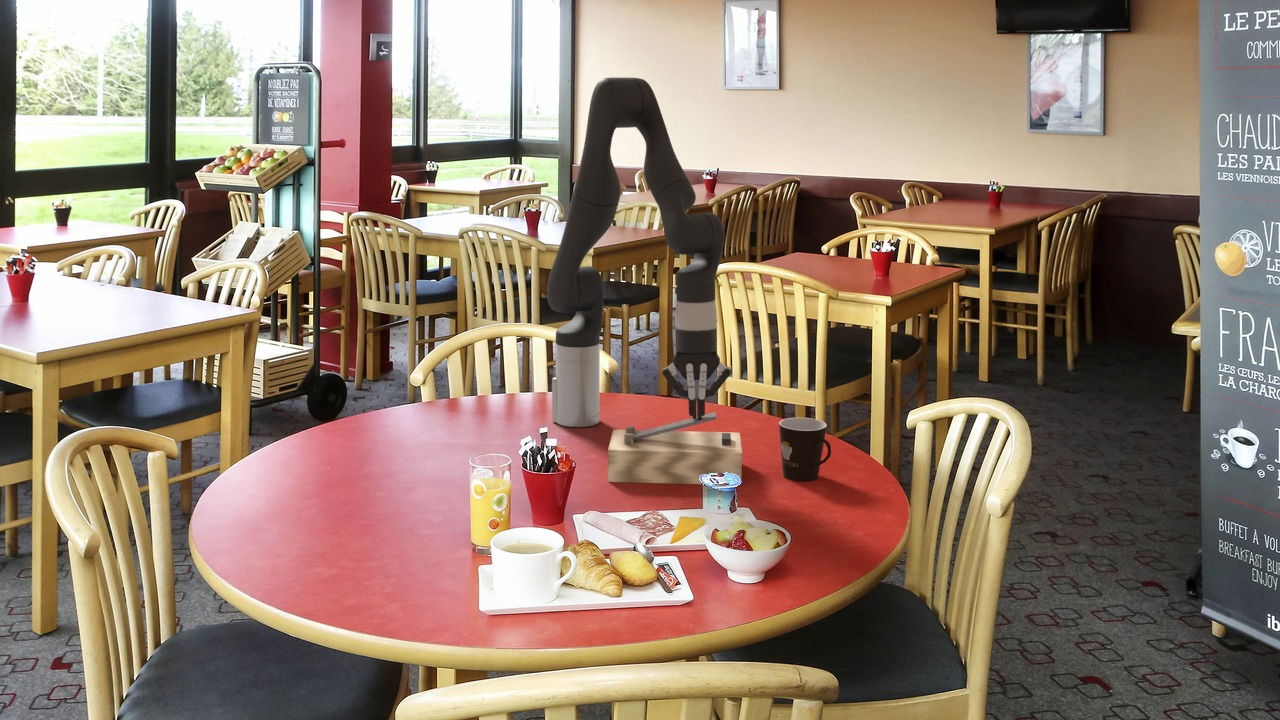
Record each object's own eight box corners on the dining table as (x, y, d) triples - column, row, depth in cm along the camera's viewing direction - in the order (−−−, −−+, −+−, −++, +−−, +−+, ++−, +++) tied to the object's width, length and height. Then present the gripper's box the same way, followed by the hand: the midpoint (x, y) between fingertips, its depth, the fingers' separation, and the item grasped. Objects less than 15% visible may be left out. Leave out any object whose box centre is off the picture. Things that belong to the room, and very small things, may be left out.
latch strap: (632, 441, 212) (631, 438, 211) (633, 436, 214) (632, 433, 214) (716, 419, 210) (715, 416, 210) (716, 414, 213) (715, 411, 213)
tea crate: (607, 481, 208) (608, 440, 207) (613, 459, 221) (613, 420, 219) (741, 485, 207) (742, 443, 205) (738, 462, 220) (739, 423, 218)
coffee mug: (772, 469, 216) (774, 417, 214) (818, 468, 217) (820, 417, 215) (785, 489, 205) (787, 435, 203) (833, 488, 206) (835, 435, 203)
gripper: (658, 329, 204) (660, 423, 208) (733, 328, 204) (733, 423, 207) (660, 321, 212) (661, 413, 215) (732, 321, 211) (732, 412, 215)
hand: (697, 418), depth 211 cm, fingers closed
